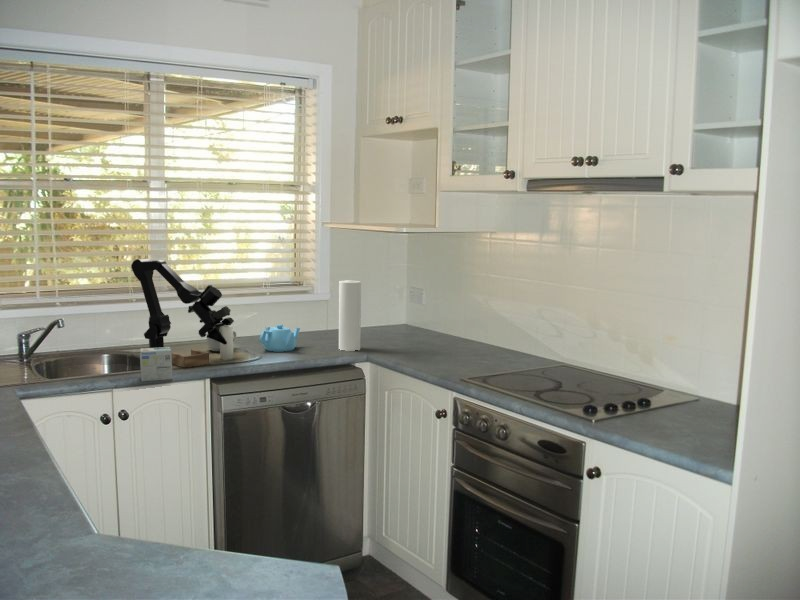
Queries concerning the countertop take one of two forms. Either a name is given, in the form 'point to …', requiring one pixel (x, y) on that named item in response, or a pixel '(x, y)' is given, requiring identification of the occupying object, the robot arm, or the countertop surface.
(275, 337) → the teapot
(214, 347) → the teacup
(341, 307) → the cylinder container
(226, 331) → the paper roll
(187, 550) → the countertop surface
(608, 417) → the countertop surface
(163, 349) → the light bulb box
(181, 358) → the cradle
